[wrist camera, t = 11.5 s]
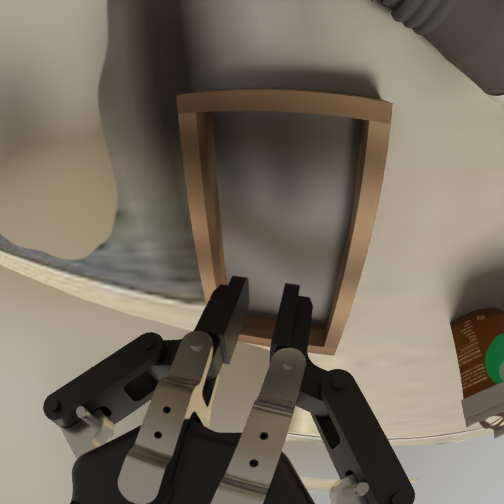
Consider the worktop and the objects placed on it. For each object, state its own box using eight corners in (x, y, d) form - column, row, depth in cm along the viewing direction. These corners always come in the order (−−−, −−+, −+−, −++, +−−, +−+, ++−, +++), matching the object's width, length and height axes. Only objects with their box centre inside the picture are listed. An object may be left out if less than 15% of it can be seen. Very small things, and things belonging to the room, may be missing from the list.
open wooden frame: (197, 91, 13) (176, 95, 11) (381, 99, 11) (392, 103, 9) (221, 314, 24) (212, 335, 22) (335, 331, 22) (334, 355, 20)
